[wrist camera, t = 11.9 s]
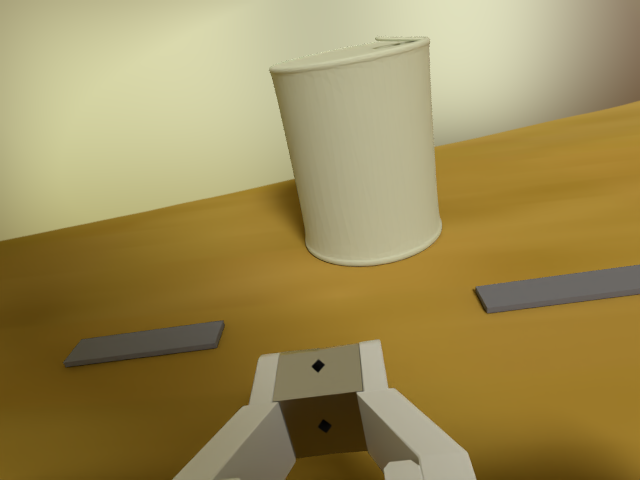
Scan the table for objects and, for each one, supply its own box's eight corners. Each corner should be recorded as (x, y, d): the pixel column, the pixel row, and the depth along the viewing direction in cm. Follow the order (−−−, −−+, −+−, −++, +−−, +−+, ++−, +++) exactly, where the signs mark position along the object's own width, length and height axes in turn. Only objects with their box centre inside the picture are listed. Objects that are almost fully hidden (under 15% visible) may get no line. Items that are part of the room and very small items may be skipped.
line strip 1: (65, 367, 22) (63, 362, 22) (83, 343, 24) (81, 339, 24) (216, 347, 21) (215, 343, 21) (224, 325, 23) (223, 320, 23)
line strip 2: (487, 313, 20) (487, 308, 20) (475, 291, 22) (475, 286, 21) (671, 289, 19) (673, 284, 19) (645, 269, 21) (646, 263, 21)
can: (452, 259, 25) (441, 29, 20) (296, 274, 26) (247, 65, 21) (432, 198, 33) (421, 25, 28) (314, 213, 35) (282, 51, 29)
